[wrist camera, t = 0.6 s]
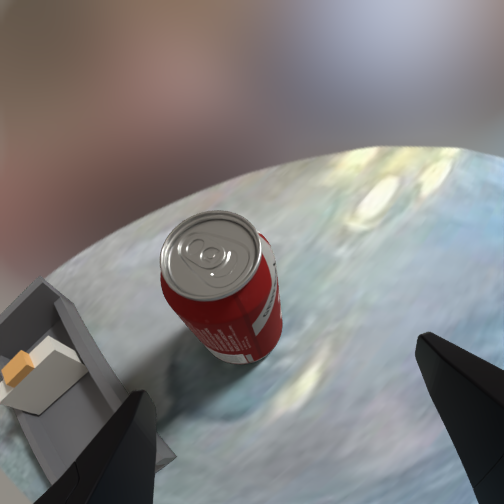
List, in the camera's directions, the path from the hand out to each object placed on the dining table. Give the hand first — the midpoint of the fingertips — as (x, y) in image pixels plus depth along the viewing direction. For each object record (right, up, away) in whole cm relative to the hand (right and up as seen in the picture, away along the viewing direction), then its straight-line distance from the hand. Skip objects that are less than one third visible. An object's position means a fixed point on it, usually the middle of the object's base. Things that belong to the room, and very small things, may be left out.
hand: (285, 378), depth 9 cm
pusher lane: (-17, -10, +15) cm, 25 cm away
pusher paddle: (-19, -9, +15) cm, 26 cm away
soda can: (-2, -3, +18) cm, 18 cm away
